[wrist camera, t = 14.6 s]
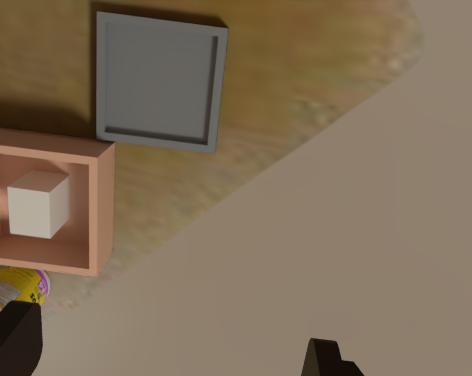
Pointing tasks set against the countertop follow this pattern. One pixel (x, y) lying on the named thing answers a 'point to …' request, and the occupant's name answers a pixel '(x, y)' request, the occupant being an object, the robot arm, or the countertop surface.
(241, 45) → the countertop surface
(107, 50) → the tray
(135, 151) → the countertop surface
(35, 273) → the supplement bottle
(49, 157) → the bin
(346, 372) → the robot arm
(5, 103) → the countertop surface
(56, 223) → the cream rectangular block
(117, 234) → the countertop surface
